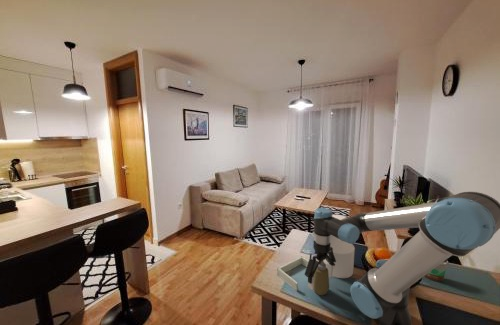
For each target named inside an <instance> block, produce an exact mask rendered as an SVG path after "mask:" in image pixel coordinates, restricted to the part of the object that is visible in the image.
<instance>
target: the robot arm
mask: <svg viewBox="0 0 500 325" xmlns="http://www.w3.org/2000/svg"><path fill="white" fill-rule="evenodd" d="M332 215H333V212H332V210H331V209H330V208H326V207H318V208H316V209H315V210H314V216H313V249H314V254H312V253H310V254H309V259H308V261H309V262H308V265H307V267H306V268H305V272H304V276H306V277H307V283H308V284H307V286H308V288H309V289H310V290H312V291H314V276H313V275H314V273H315V271H316V269H317V267H318V265H319V264H320V263H321V261H323V260H325V259H326V260H327V262H328V263H327V269H328V276H329V279H332V278H333V276H332V269H333V266H335V263H334V262H336V259H335V256H334V254H333V248H332V247H330V245H331V243H330V242H331V235H332V236H334V237H336V238H338V239H340V240H341V241H344V242H347V243H349V244H353V245H354V244H355V243H356V241H358V240H359V237H360V234H362V233H367V232H374V231H375V232H376V231H389V230H391V231H392V230H402V229H415V228H416V229H417V228H418V229H419V231H418V232H417V233H416V234H415V235H413V236H412V237H411V238H410V239H409V240H408V241H407V242H406V243H405V244H404V245H402V247H400V248H399V249H398V250H397V251H396V252H395V253H394V254H393V255H391V256H390V258H388V259H385V258H384V259H381V258H380V259H378V260H377V261H376V263H375V267H373V268H371V269H369V270H368V271H367V272H366V273H365V274H364V275H363V276H361V278H359V279H358V280H357V281H354V282H353V284H351V286H350V288H349V293H350V296H351V300H352V301H353V303H354V304H355V306H356V307H357V309H358V310H359V311H360V312H361V313H362V314H363V315H365V316H367V317H368V318H370V319H372V320H374V322H375V323H377V324H378V325H412V323H413V322H412V316H411V312H410V309H409V306H408V305H409V297H410V291H411V290H410V289H411V286H413V285H414V284H416V283H417V282H418V281H419V280H421V279H422V278H423V277H424V276H425V275H426V274H427V273H429V272H430V271H431V270H433V269H434V268H436V267H437V266H438V265H440V264H441V263H442V262H446V261H447V260H448V259H449V258H450V257H452V256H455V257H460V258H461V257H465V256H466V255H467V254H470V252H472V251H473V250H475V249H478V247H482V246H484V245H486V244H487V243H488V242H489V241H490V240H492V238H493V237H494V235H495V234H496V233H497V232H498V231H499V230H500V202H499V201H498V200H497V199H496V198H494V197H492V196H490V195H488V194H485V193H482V192H477V191H464V192H459V193H456V194H454V195H450V196H446V197H445V196H444V197H440V198H439V197H438V198H437V199H436V200H435V201H433V202H428V203H423V204H415V205H409V206H403V207H397V208H390V209H386V210H385V209H384V210H378V211H371V212H360V213H356V214H355V215H352V216H350V217H347V218H346V219H344V220H339V219H337V218H334V217H332ZM328 255H329V256H328Z"/></svg>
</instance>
